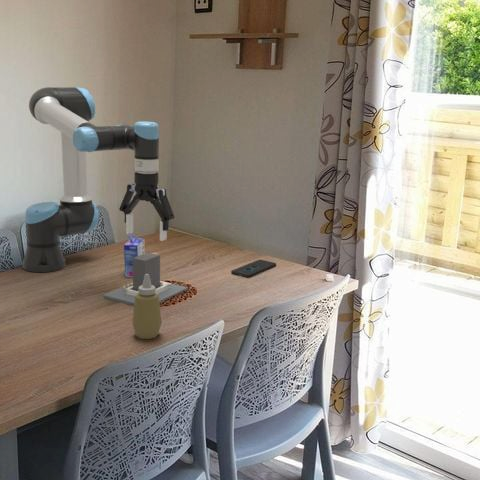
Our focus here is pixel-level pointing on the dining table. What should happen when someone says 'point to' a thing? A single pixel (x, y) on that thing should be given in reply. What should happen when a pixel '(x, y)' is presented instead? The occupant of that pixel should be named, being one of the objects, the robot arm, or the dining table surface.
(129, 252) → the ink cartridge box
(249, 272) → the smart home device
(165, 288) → the socket board
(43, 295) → the dining table surface
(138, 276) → the keyed plug
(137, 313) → the squeeze bottle
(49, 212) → the robot arm
